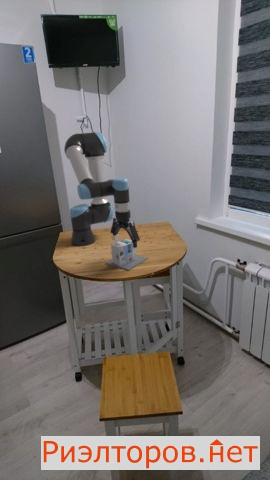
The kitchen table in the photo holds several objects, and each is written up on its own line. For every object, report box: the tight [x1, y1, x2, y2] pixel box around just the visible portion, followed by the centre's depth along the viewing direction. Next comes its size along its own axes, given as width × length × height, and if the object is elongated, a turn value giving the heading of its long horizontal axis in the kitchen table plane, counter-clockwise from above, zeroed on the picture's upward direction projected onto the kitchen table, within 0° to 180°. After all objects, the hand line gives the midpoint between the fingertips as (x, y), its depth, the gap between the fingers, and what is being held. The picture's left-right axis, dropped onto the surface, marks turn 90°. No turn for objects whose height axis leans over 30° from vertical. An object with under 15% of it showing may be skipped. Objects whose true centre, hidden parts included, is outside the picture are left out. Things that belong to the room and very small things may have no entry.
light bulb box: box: [110, 238, 136, 266], centre depth 145 cm, size 11×7×11 cm
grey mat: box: [104, 254, 149, 271], centre depth 149 cm, size 16×16×1 cm
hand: (125, 249), depth 147 cm, fingers open, 13 cm apart
